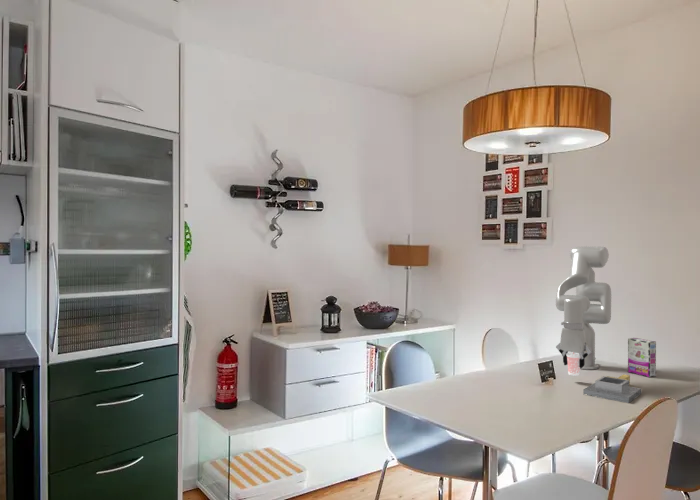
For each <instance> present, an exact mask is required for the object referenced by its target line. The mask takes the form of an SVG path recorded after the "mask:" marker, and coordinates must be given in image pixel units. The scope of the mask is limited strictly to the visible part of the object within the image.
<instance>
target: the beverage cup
mask: <svg viewBox="0 0 700 500" xmlns="http://www.w3.org/2000/svg"><path fill="white" fill-rule="evenodd" d="M566 356H567V374H568V375H569V376H573V377H575V376H576V377H577V376H580V371H581V369H580V367H579V359H580V355H579V354H578V353H574V352H568V353H567V354H566Z"/></svg>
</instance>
